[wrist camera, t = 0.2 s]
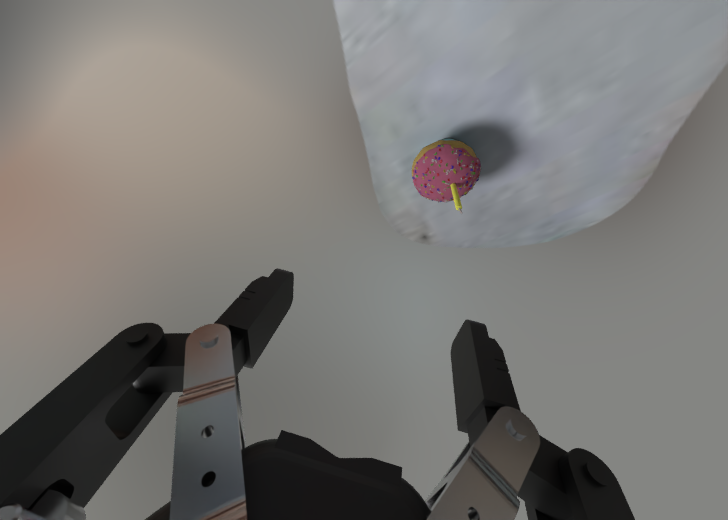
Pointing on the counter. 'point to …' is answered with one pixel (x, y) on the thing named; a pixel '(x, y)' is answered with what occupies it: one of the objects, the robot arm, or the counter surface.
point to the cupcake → (446, 171)
